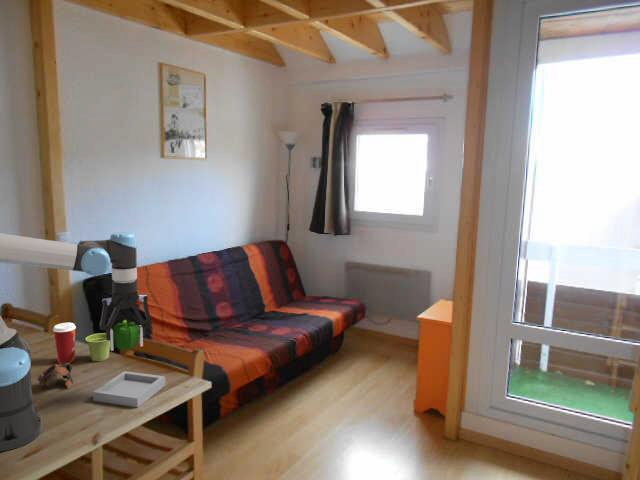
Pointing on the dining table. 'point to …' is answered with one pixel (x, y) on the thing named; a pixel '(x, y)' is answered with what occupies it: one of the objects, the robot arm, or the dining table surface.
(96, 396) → the gray square tray
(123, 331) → the bell pepper
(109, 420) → the dining table surface
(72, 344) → the paper cup
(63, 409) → the dining table surface
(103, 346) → the plant pot
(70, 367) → the pottery mug
